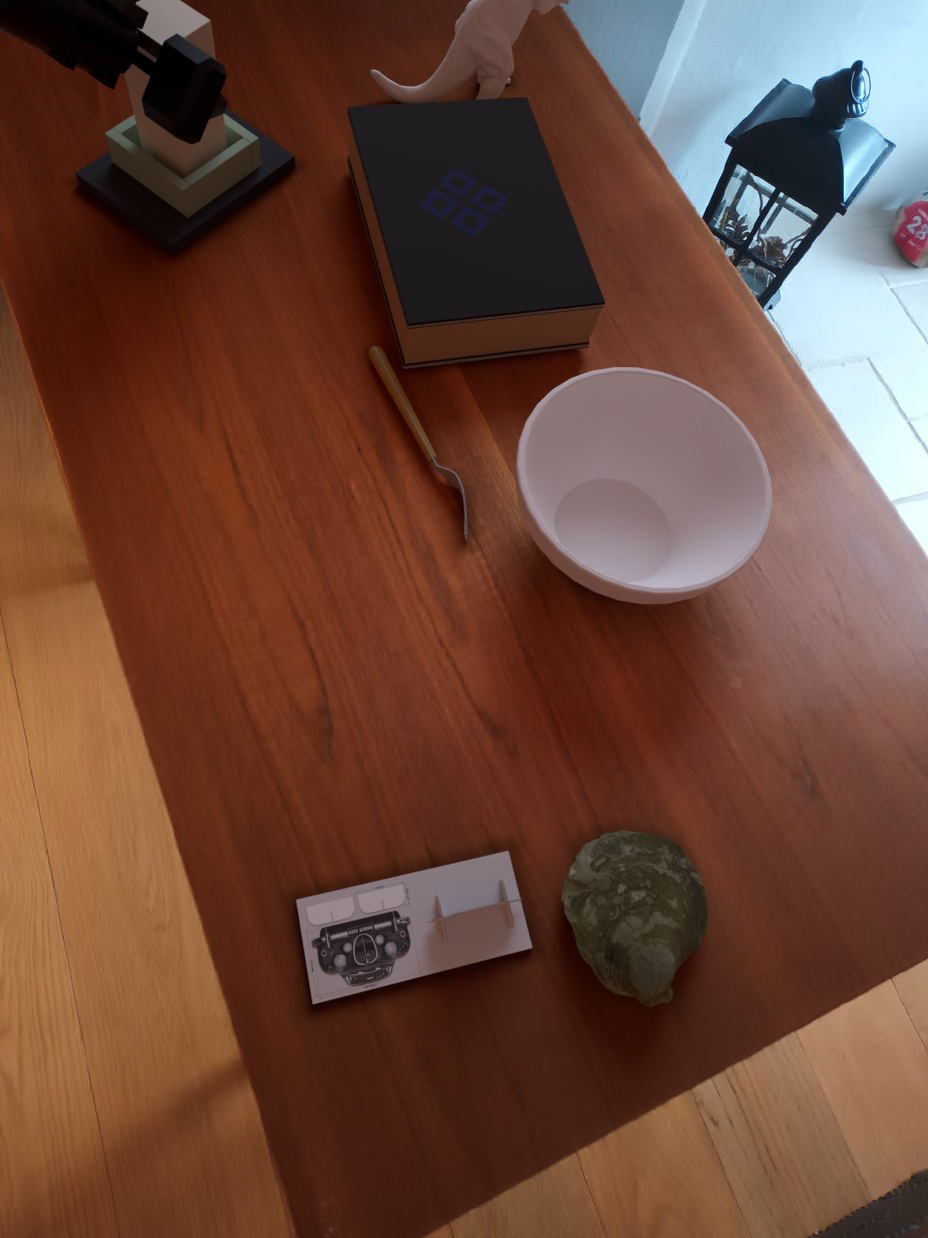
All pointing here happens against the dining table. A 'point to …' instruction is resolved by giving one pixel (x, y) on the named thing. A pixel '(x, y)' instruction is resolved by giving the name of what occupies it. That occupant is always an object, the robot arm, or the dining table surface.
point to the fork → (411, 417)
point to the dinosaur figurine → (475, 51)
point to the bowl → (641, 485)
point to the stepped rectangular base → (183, 182)
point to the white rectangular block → (159, 25)
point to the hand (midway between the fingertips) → (184, 78)
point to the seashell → (635, 912)
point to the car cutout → (411, 926)
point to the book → (470, 231)
